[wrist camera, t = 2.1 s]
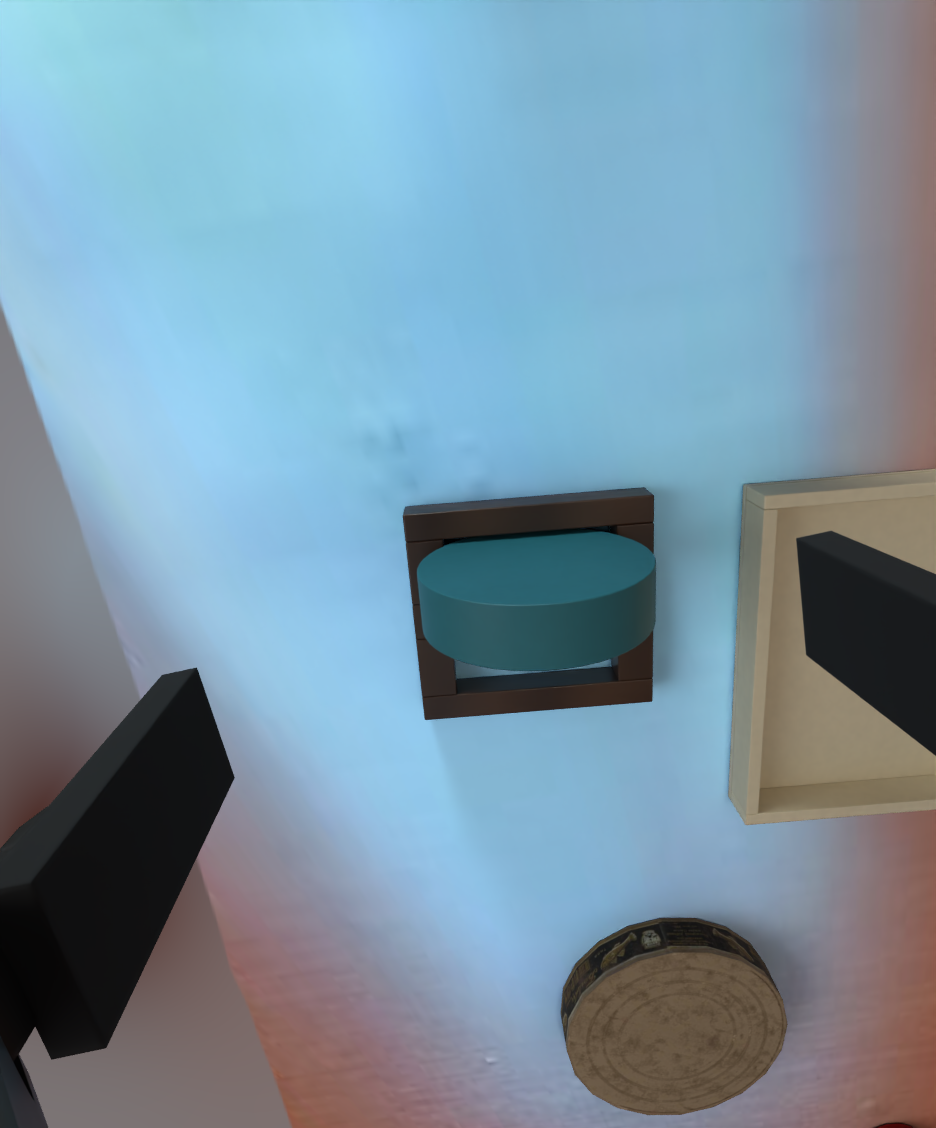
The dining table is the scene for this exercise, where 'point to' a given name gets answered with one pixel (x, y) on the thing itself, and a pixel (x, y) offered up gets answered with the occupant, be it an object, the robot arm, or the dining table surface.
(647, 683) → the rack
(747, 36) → the dining table surface
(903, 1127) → the plastic cup
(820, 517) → the tray
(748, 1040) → the wood log slice
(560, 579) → the disc
